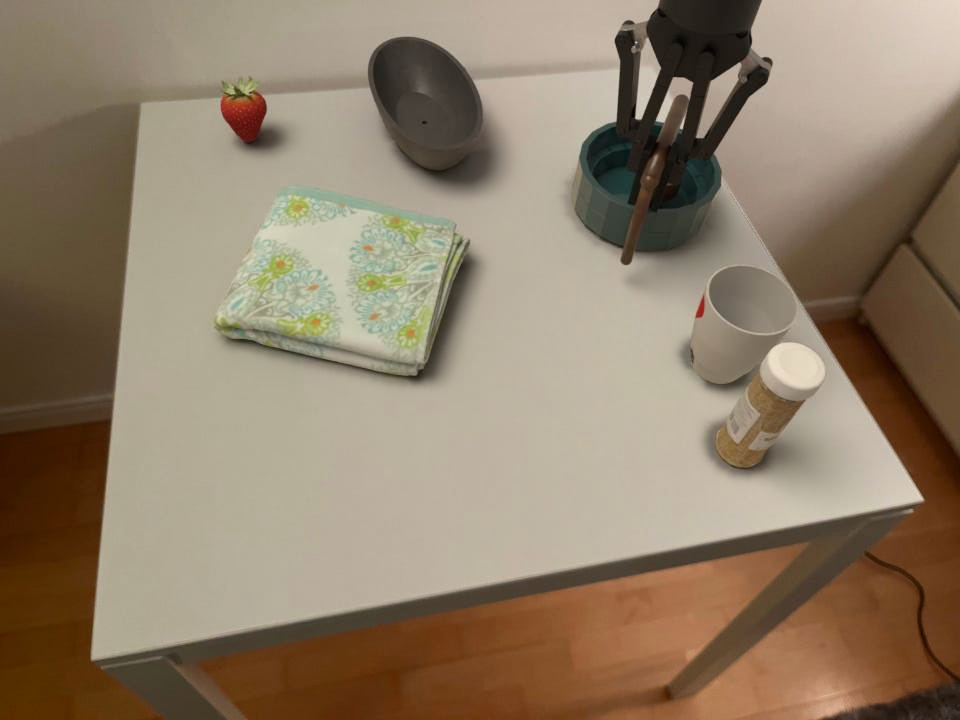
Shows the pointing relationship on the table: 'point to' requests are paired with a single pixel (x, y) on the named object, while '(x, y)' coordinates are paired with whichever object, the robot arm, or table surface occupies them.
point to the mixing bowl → (607, 194)
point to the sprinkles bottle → (770, 403)
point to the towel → (344, 281)
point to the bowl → (425, 101)
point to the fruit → (243, 108)
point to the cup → (739, 321)
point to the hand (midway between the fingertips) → (645, 199)
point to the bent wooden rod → (655, 175)
